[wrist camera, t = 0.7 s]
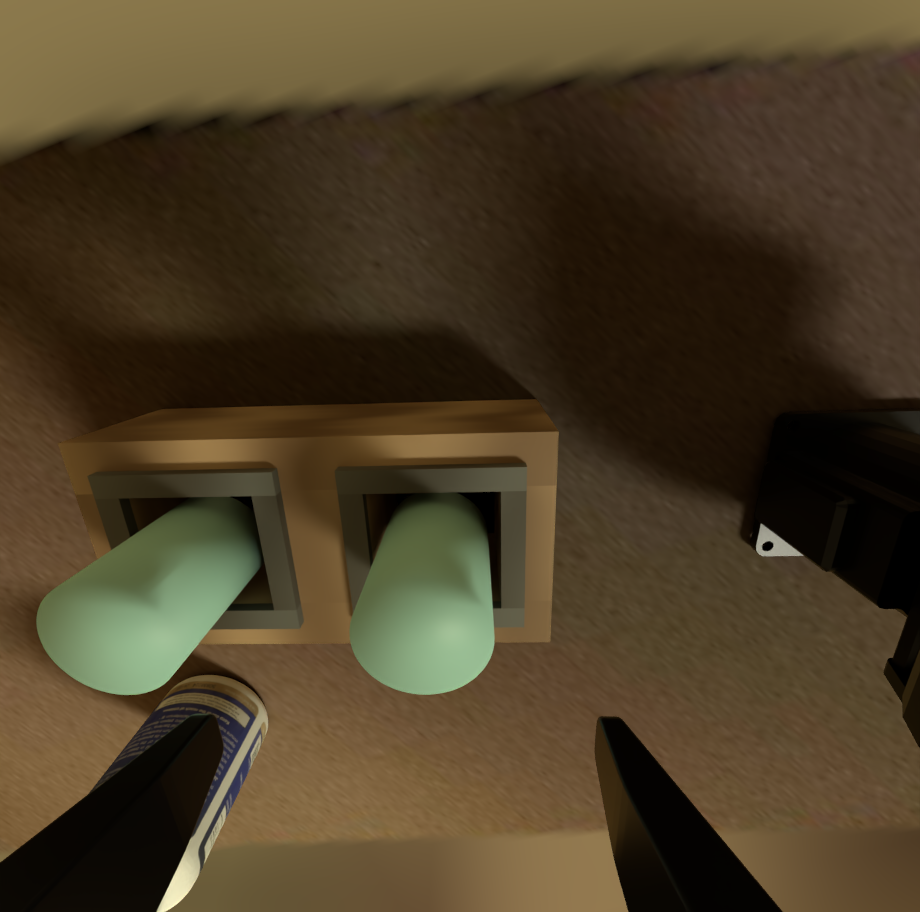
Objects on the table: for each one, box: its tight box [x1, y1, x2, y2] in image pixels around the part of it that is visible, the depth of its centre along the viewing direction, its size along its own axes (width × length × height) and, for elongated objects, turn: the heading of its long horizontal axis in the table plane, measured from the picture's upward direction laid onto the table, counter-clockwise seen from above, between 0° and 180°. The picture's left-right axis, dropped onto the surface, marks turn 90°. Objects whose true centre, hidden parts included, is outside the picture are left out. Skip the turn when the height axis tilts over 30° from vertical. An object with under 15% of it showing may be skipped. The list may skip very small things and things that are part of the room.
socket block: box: [58, 399, 559, 644], centre depth 17 cm, size 16×8×5 cm, turn 92°
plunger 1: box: [36, 497, 264, 695], centre depth 14 cm, size 4×4×5 cm
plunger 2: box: [349, 492, 495, 695], centre depth 13 cm, size 4×4×5 cm
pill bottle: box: [90, 675, 268, 912], centre depth 20 cm, size 6×6×10 cm
